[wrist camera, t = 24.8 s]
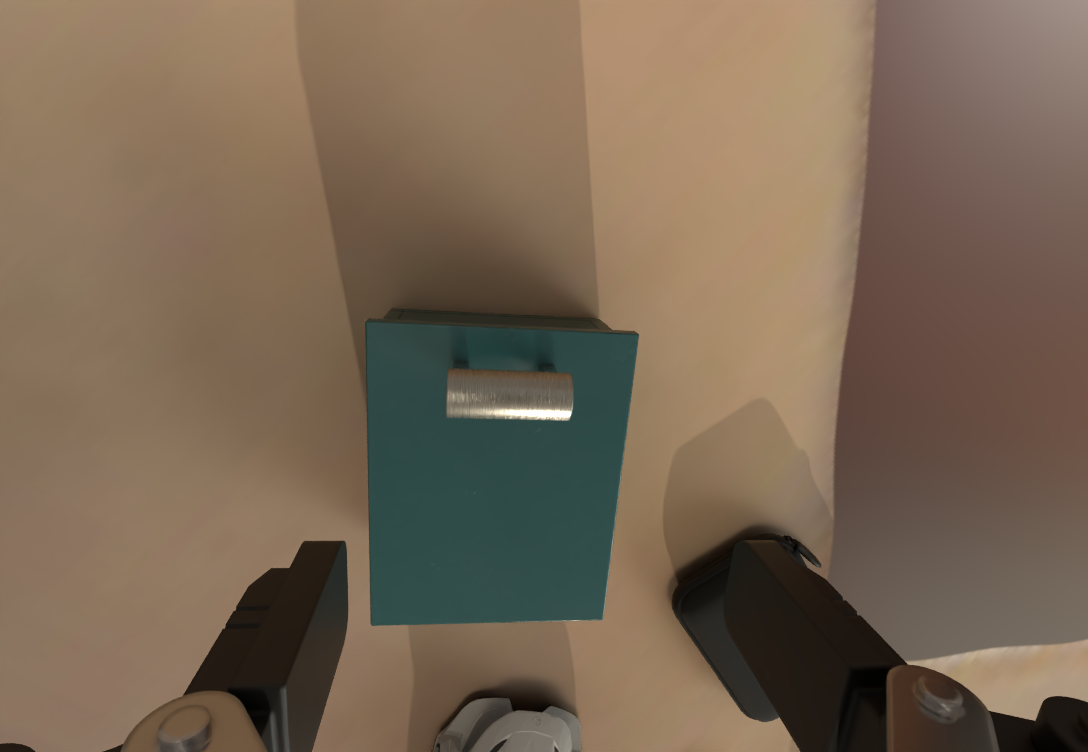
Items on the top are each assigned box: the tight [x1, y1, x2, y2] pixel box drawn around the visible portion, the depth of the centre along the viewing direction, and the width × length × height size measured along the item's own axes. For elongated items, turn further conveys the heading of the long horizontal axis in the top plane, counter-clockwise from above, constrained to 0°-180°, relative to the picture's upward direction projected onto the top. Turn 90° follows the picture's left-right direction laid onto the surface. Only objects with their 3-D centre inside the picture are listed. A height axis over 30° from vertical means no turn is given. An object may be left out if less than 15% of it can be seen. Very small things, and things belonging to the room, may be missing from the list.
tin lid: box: [365, 318, 639, 626], centre depth 26 cm, size 16×13×5 cm
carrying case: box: [672, 534, 821, 722], centre depth 41 cm, size 11×3×15 cm
